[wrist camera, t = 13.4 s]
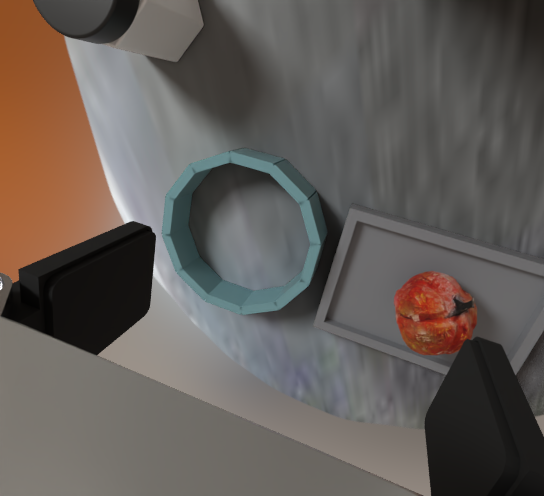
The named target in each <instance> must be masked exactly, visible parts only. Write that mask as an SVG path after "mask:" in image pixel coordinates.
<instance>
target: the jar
mask: <svg viewBox="0 0 544 496" xmlns="http://www.w3.org/2000/svg"><path fill="white" fill-rule="evenodd" d="M33 1H34V4H35V6H36V7H37V9H38V11H39V12H40V14H41V15H42V17H43V18H44V19H45V20H46V22H47V23H48V24H49V25H50V26H51V27H52V28H54V29H55V30H56V31H58V32H59V33H61V34H63V35H65V36H67V37H70V38H74V39H78V40H83V41H87V42H91V43H96V44H104V45H107V46H110V47H113V48H116V49H120V50H125V51H129V52H133V53H138V54H142V55H146V56H151V57H155V58H159V59H164V60H168V61H172V62H177V61H178V60H179V59H180V58H181V56H182V55H183V53H184V52H185V51H186V49H187V48H188V47H189V45H190V44H191V43H192V41H193V40H194V39H195V37H196V36H197V34H198V33H199V32H200V30H201V29H202V28H203V26H204V23H203V19H202V15H201V11H200V7H199V3H198V0H33Z"/></svg>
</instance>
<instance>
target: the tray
mask: <svg viewBox="0 0 544 496" xmlns="http://www.w3.org/2000/svg"><path fill="white" fill-rule="evenodd" d="M428 271H435V272H440V273H444V274H447V275H449V276H452V277H453V278H455V279H456V281H457V282H458V284H459V285H460V286H461V288H462V290H464V291H466V292H467V293H469V294H470V295H471V297H472V298H473V296H474V301H475V304H476V307H477V324H476V326H475V328H474V329H473V334H472V338H471V339H470V340H473V339H474V338H475V337H480V338H483V339H486V340H489V341H492V342H495V343H498V344H501V345H502V347H503V349H504V351H505V353H506V355H507V358H508V360H509V362H510V364H511V366H512V369H513V371H514V373H515V375H516V374H517V372H518V371H519V369H520V368H521V366H522V364H523V363H524V361H525V360H526V358H527V356H528V355H529V353H530V352H531V350H532V348H533V347H534V345H535V344H536V342H537V340H538V339H539V337H540V336H541V334H542V332H543V331H544V259H542V258H539V257H535V256H532V255H528V254H525V253H521V252H518V251H514V250H511V249H508V248H504V247H501V246H497V245H494V244H490V243H487V242H483V241H480V240H477V239H473V238H470V237H466V236H463V235H459V234H456V233H452V232H449V231H446V230H442V229H439V228H435V227H432V226H428V225H425V224H421V223H418V222H415V221H411V220H408V219H404V218H401V217H397V216H394V215H390V214H387V213H384V212H380V211H377V210H373V209H370V208H366V207H363V206H359V205H356V204H353V203H352V205H351V207H350V210H349V213H348V216H347V219H346V222H345V225H344V229H343V232H342V235H341V238H340V241H339V245H338V248H337V251H336V254H335V257H334V260H333V264H332V267H331V270H330V273H329V276H328V280H327V283H326V286H325V289H324V292H323V295H322V299H321V302H320V305H319V308H318V311H317V315H316V318H315V321H314V324H313V327H316V328H319V329H322V330H324V331H327V332H330V333H333V334H335V335H338V336H341V337H344V338H346V339H349V340H352V341H355V342H357V343H360V344H363V345H365V346H368V347H371V348H374V349H376V350H379V351H382V352H385V353H387V354H390V355H393V356H396V357H398V358H401V359H404V360H407V361H409V362H412V363H415V364H418V365H420V366H423V367H426V368H428V369H431V370H434V371H437V372H439V373H442V374H445V375H447V373H448V371H449V369H450V367H451V365H452V363H453V362H454V360H455V358H456V356H457V354H458V352H459V351H457V352H455V353H453V354H440V355H422V354H419V353H417V352H415V351H413V350H411V349H410V348H409V347H408V346H407V345H406V343H405V342H404V340H403V338H402V336H401V333H400V330H399V327H398V324H397V322H396V312H395V306H394V297H395V294H396V291H397V290H399V289H401V288H402V286H403V285H404V284H405V283H406V282H407V281H408V280H409V279H410V278H412V277H413V276H415V275H417V274H420V273H423V272H428Z"/></svg>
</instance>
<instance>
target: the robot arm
mask: <svg viewBox="0 0 544 496" xmlns="http://www.w3.org/2000/svg"><path fill="white" fill-rule="evenodd" d="M155 243H156V235H155V233H153V232H152V228H151V227H149V226H146V225H143V224H140V223H137V222H134V221H132V222H129V223H126V224H124V225H122V226H119V227H117V228H115V229H112V230H110V231H108V232H105V233H103V234H100V235H98V236H96V237H93V238H91V239H89V240H86V241H84V242H82V243H79V244H77V245H75V246H72V247H70V248H68V249H65V250H63V251H61V252H58V253H56V254H53V255H51V256H49V257H47V258H44V259H42V260H40V261H37V262H35V263H32V264H30V265H28V266H25V267H23V268H21V269H19V281H17V282H15V283H12V280H11V278H10V277H9V276H7V275H5V274H3V273H0V496H423V495H420V494H418V493H416V492H414V491H411V490H409V489H407V488H404V487H402V486H400V485H397V484H395V483H393V482H391V481H388V480H386V479H383V478H381V477H379V476H377V475H374V474H372V473H370V472H367V471H365V470H363V469H361V468H358V467H356V466H354V465H351V464H349V463H347V462H345V461H342V460H340V459H337V458H335V457H333V456H331V455H328V454H326V453H324V452H321V451H319V450H317V449H315V448H312V447H310V446H308V445H305V444H303V443H301V442H298V441H296V440H294V439H291V438H289V437H286V436H284V435H282V434H280V433H277V432H275V431H272V430H270V429H268V428H265V427H263V426H261V425H258V424H256V423H253V422H251V421H249V420H247V419H244V418H242V417H240V416H237V415H235V414H233V413H230V412H228V411H226V410H223V409H221V408H219V407H216V406H214V405H212V404H209V403H207V402H204V401H202V400H200V399H198V398H195V397H193V396H191V395H188V394H186V393H184V392H181V391H179V390H177V389H174V388H172V387H170V386H167V385H165V384H163V383H160V382H158V381H156V380H153V379H151V378H149V377H146V376H144V375H142V374H139V373H137V372H134V371H132V370H130V369H128V368H125V367H123V366H120V365H118V364H116V363H114V362H111V361H109V360H106V359H104V358H102V357H99V356H97V355H98V354H99V353H100V352H101V351H103V350H104V349H105V348H106V347H107V346H109V345H110V344H111V343H112V342H114V340H116V339H117V338H118V337H120V336H121V335H122V334H123V333H124V332H126V331H127V330H128V329H129V328H130V327H132V326H133V325H134V324H135V323H136V322H137V321H139V320H140V319H141V318H142V317H144V316H145V315H146V313H147V312H148V310H149V307H150V301H151V289H152V277H153V266H154V254H155ZM425 434H426V445H427V455H428V466H429V476H430V487H431V496H544V437H543V434H542V432H541V430H540V428H539V426H538V424H537V421H536V419H535V417H534V415H533V412H532V410H531V408H530V406H529V404H528V401H527V399H526V397H525V395H524V393H523V390H522V388H521V386H520V384H519V382H518V379H517V377H516V375H515V373H514V371H513V369H512V366H511V364H510V362H509V360H508V358H507V355H506V353H505V351H504V349H503V347H502V345H501V344H498V343H495V342H492V341H489V340H486V339H483V338H480V337H475V338H474V339H473V340H469V339H466V340H465V341H464V343H463V344H462V346H461V348H460V350H459V352H458V354H457V356H456V358H455V360H454V362H453V363H452V365H451V367H450V369H449V371H448V373H447V375H446V377H445V379H444V381H443V383H442V384H441V386H440V388H439V390H438V392H437V394H436V396H435V398H434V400H433V402H432V404H431V405H430V407H429V409H428V411H427V414H426V417H425Z"/></svg>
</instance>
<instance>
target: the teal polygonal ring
mask: <svg viewBox="0 0 544 496" xmlns="http://www.w3.org/2000/svg"><path fill="white" fill-rule="evenodd" d="M230 162H231V163H235V164H238V165H241V166H245V167H248V168H252V169H255V170H259V171H262V172H266V173H269V174H270V175H271V176H272V177H273V178H274V179H275V180H276V181H277V182H278V183H279V184H280V185H281V186H282V187H283V188H284V189H285V190H286V191H287V192H288V193H289V194H290V195H291V196H292V197H293V198H294V199H295V200H296V201H297V202H298V203H299V205H300V208H301V212H302V215H303V219H304V223H305V226H306V230H307V234H308V237H309V241H310V247H309V251H308V254H307V258H306V262H305V265H304V269H303V270H302V271H301V272H300V273H299V274H298V275H297V276H296V277H294V278H293V279H292V280H291V281H290V282H289V283H287V284H286V285H285V286H282V287H275V288H269V289H263V290H256V291H252V290H249V289H247V288H244V287H241V286H238V285H235V284H233V283H230V282H227V281H224V280H222V279H221V278H220V277H219V276H218V275H217V274H216V273H215V272H214V271H213V270H212V269H211V268H210V267H209V266H208V265H207V264H206V263H205V262H204V261H203V260H202V259H201V258H200V256H199V254H198V251H197V248H196V245H195V243H194V240H193V237H192V234H191V231H190V229H189V226H188V223H189V216H190V208H191V201H192V193H193V192H194V190H195V189H196V188H197V187H198V185H199V184H200V183H201V182H202V181H203V179H204V178H205V177H206V176H207V174H208V173H209V172H210V171H211V169H212V168H214V167H217V166H220V165H223V164H227V163H230ZM315 191H316V190H315V188H314V187H313V186H312V185H311V184H310V183H309V182H308V181H307V180H306V179H305V178H304V177H303V176H302V175H301V174H300V173H299V172H298V171H297V170H296V169H295V168H294V167H293V166H292V165H291V164H290V163H289V162H288V161H287V160H285V159H284V158H281V157H277V156H273V155H270V154H266V153H263V152H259V151H255V150H252V149H248V148H241V149H237V150H233V151H228V152H225V153H222V154H219V155H216V156H213V157H210V158H206V159H203V160H200V161H197V162H194V163H191V164H189V165H188V167H187V168H186V169H185V171H184V172H183V173H182V174H181V176H180V177H179V178H178V180H177V181H176V182H175V184H174V185H173V186H172V188H171V189H170V190H169V192H168V193H167V194H166V195H167V196H166V197H165V207H164V216H163V226H162V234H163V235H162V237H163V240H164V242H165V245H166V248H167V250H168V253H169V255H170V258H171V261H172V263H173V266H174V269H175V271H176V272H177V274H178V275H179V276H180V277H181V278H182V279H183V280H184V281H185V282H186V283H187V284H188V285H189V286H190V287H191V288H192V289H193V290H194V291H195V292H196V293H197V294H198V295H199V296H200V297H201V298H202V299H203V300H205V299H206V300H205V302H208V303H211V304H213V305H216V306H219V307H221V308H224V309H227V310H229V311H232V312H235V313H237V314H240V315H241V314H242V315H245V314H253V313H261V312H268V311H276V310H279V309H281V308H282V307H284V306H285V305H286V304H287V303H289V302H290V301H291V300H292V299H293V298H295V297H296V296H297V295H298V294H299V293H301V292H302V291H303V290H304V289H305V288H307V287H308V286H309V284H310V282H311V280H312V278H313V276H314V274H315V272H316V270H317V267H318V264H319V260H320V257H321V254H322V250H323V247H324V244H325V240H326V237H327V234H328V233H327V232H328V231H327V228H326V224H325V220H324V216H323V212H322V209H321V205H320V201H319V197H318V193H317V192H315Z"/></svg>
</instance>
